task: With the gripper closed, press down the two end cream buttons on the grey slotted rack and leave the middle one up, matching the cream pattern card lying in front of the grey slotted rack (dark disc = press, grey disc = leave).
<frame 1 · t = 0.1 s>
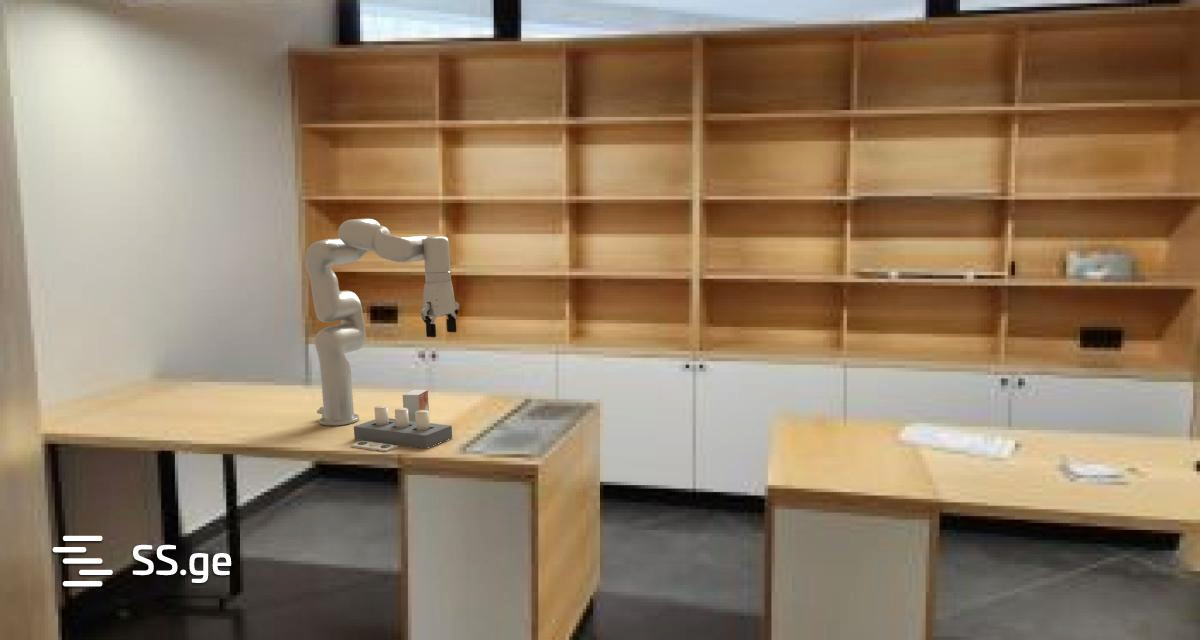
hand: (441, 334, 279), 31 cm above the table, tool pointing down, fingers open, 9 cm apart
button 3: (422, 422, 276), point 6 cm above the table, slide at 0.0 cm
button 2: (401, 420, 280), point 6 cm above the table, slide at 0.0 cm
pattern card: (374, 447, 273), on the table
button 1: (381, 417, 284), point 6 cm above the table, slide at 0.0 cm
grey slotted rack: (403, 438, 281), on the table
small box: (417, 424, 299), on the table
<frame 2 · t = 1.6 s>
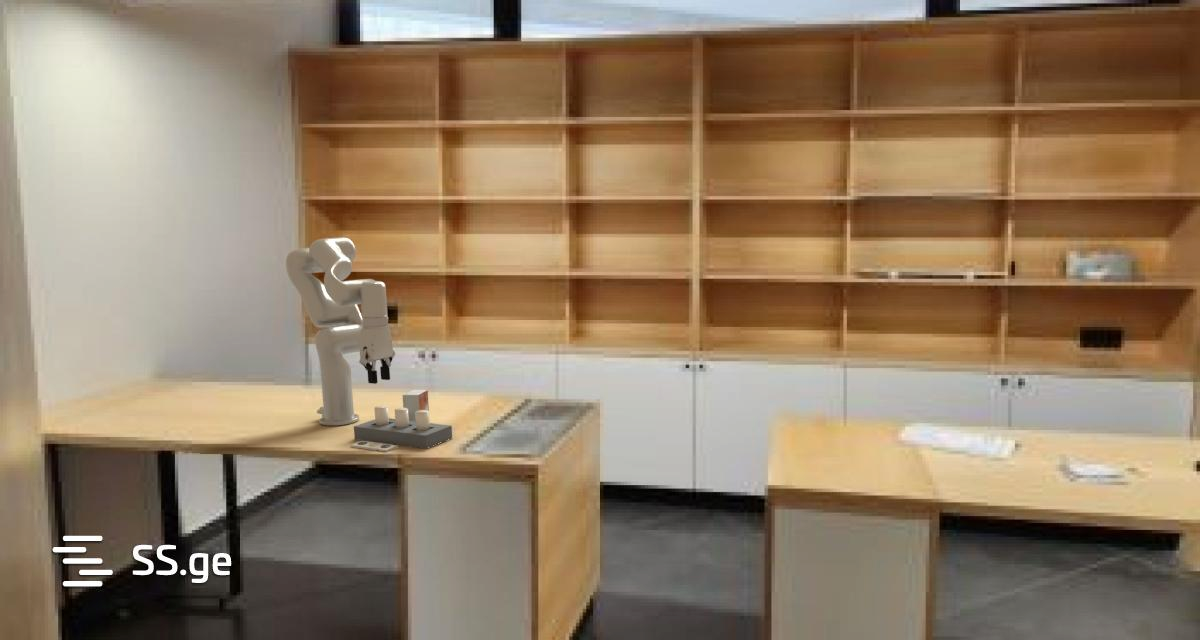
hand: (379, 380, 282), 17 cm above the table, tool pointing down, fingers open, 4 cm apart
nothing on the table moved.
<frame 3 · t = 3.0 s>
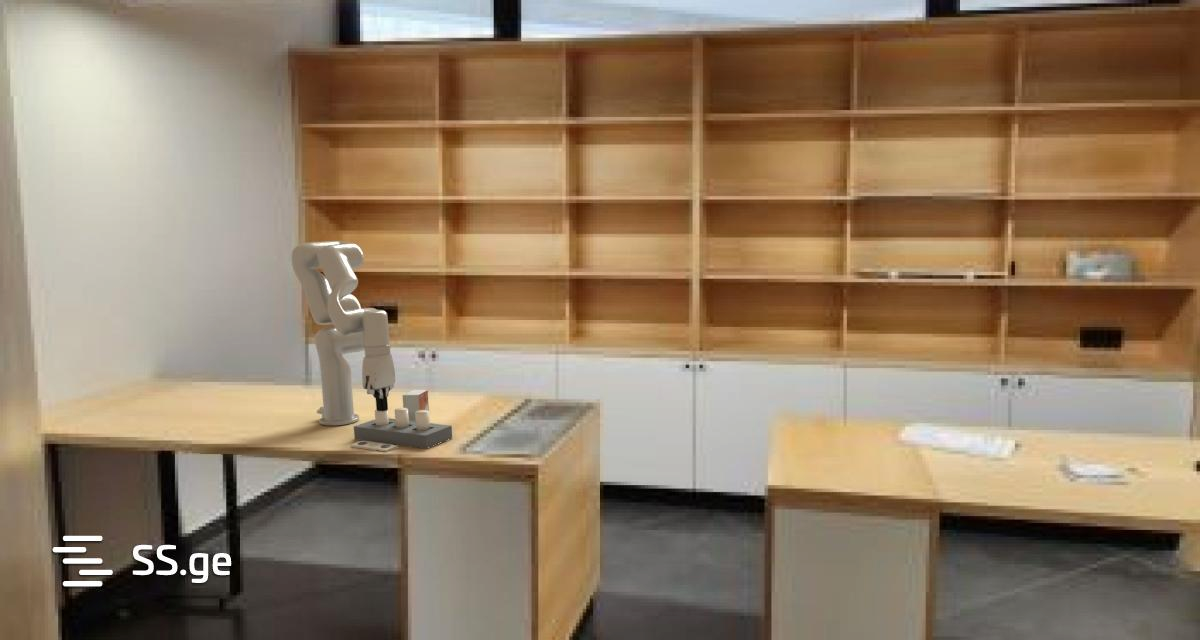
hand: (382, 410, 283), 8 cm above the table, tool pointing down, fingers closed
button 1: (382, 420, 284), point 5 cm above the table, slide at 1.0 cm, touching gripper
everything else where it was.
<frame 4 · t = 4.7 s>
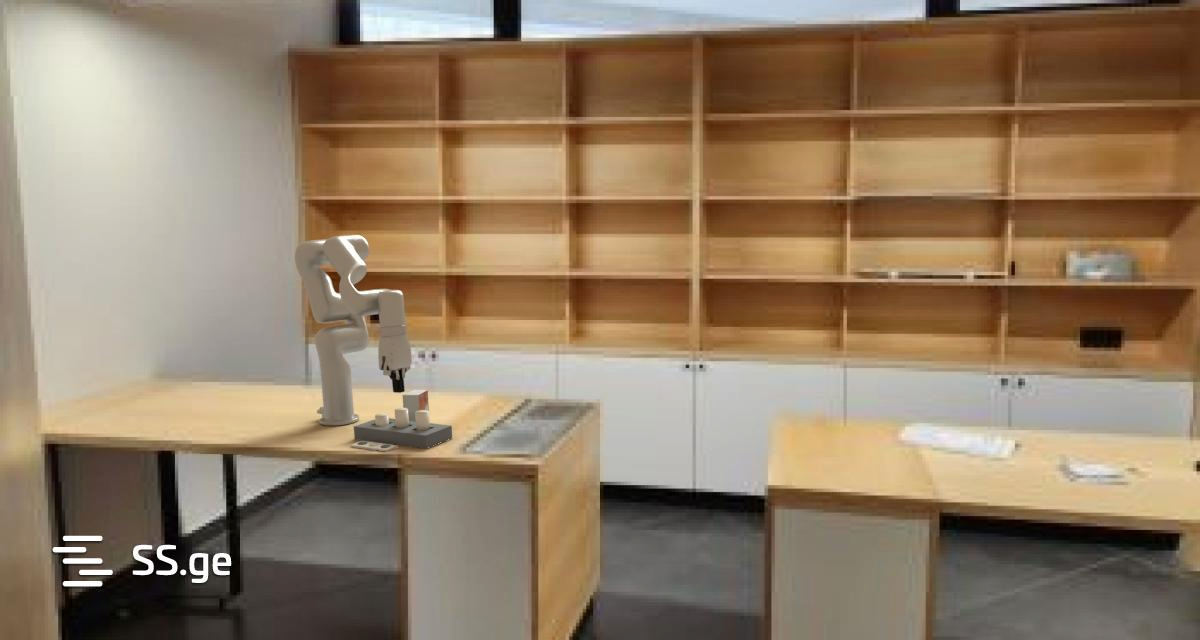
hand: (398, 391, 279), 15 cm above the table, tool pointing down, fingers closed
button 1: (382, 425, 284), point 3 cm above the table, slide at 2.4 cm
everything else where it was.
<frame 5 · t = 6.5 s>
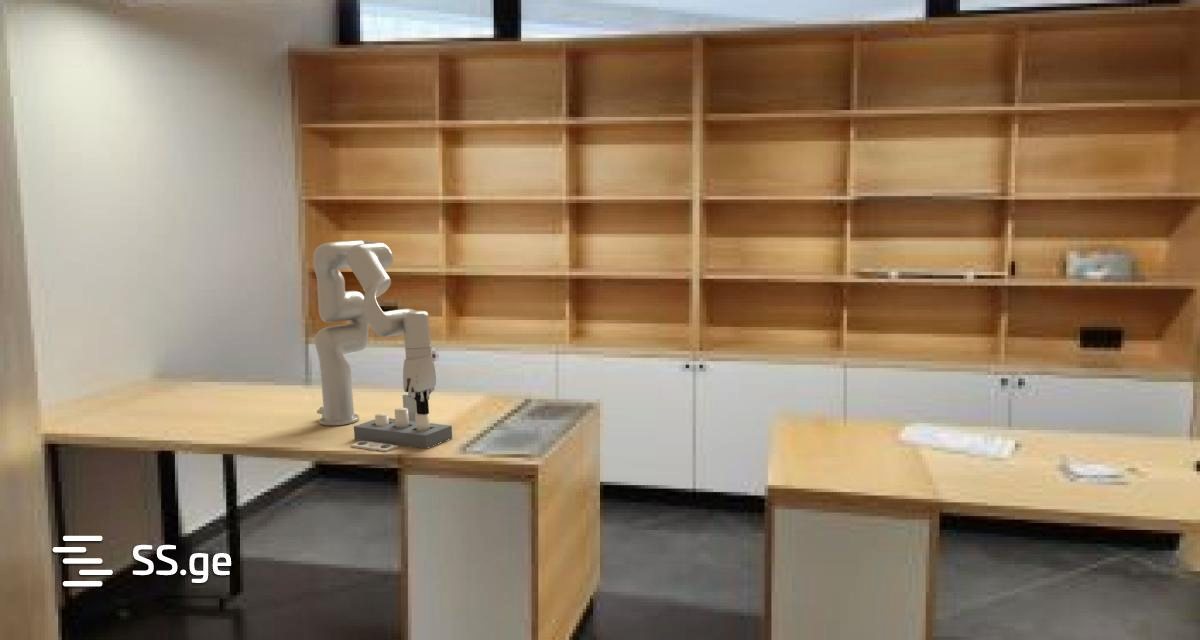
hand: (422, 413, 276), 9 cm above the table, tool pointing down, fingers closed
button 3: (422, 424, 276), point 5 cm above the table, slide at 0.6 cm, touching gripper
everything else where it was.
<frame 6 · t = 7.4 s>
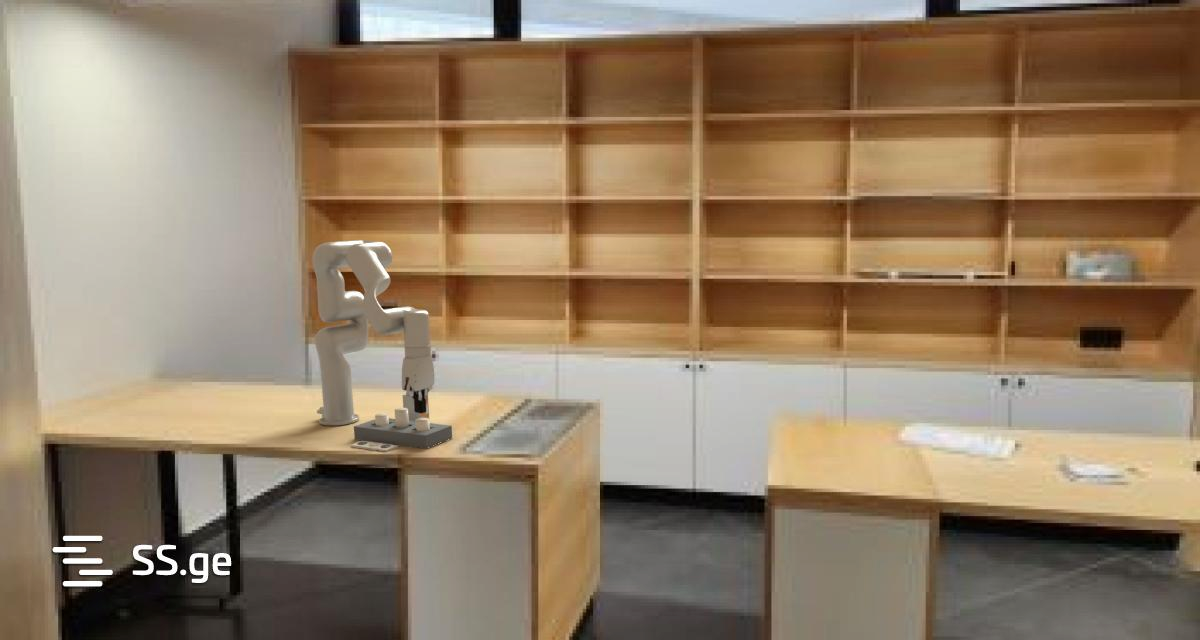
hand: (420, 412, 276), 9 cm above the table, tool pointing down, fingers closed
button 3: (423, 430, 277), point 3 cm above the table, slide at 2.4 cm
everything else where it was.
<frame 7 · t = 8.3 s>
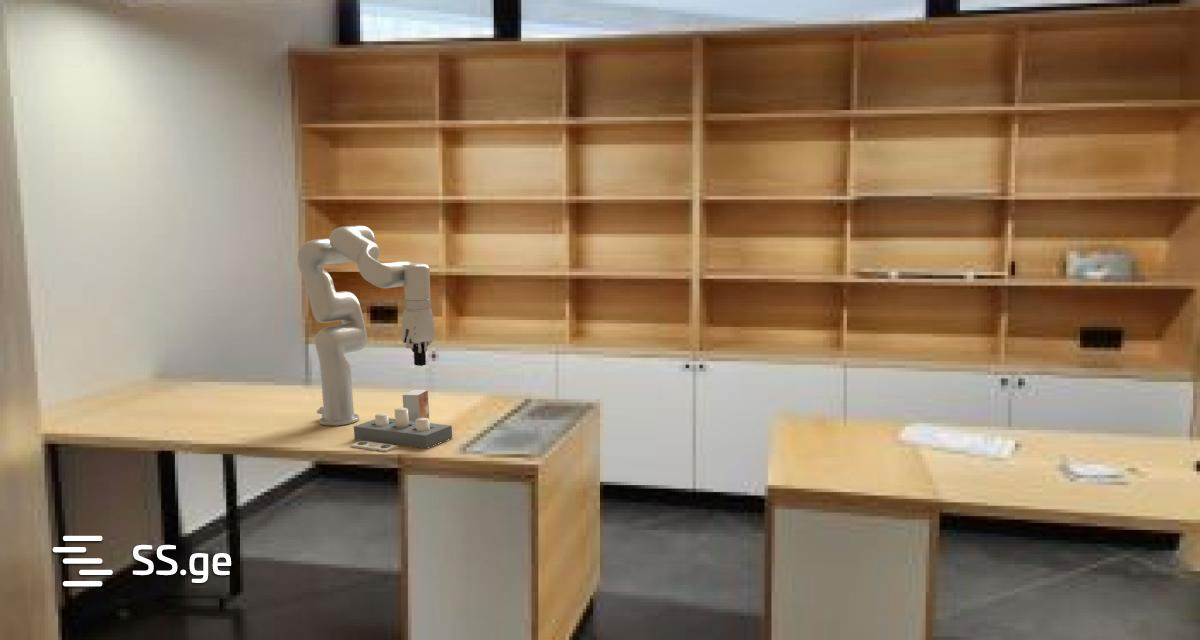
hand: (420, 364, 280), 22 cm above the table, tool pointing down, fingers closed
nothing on the table moved.
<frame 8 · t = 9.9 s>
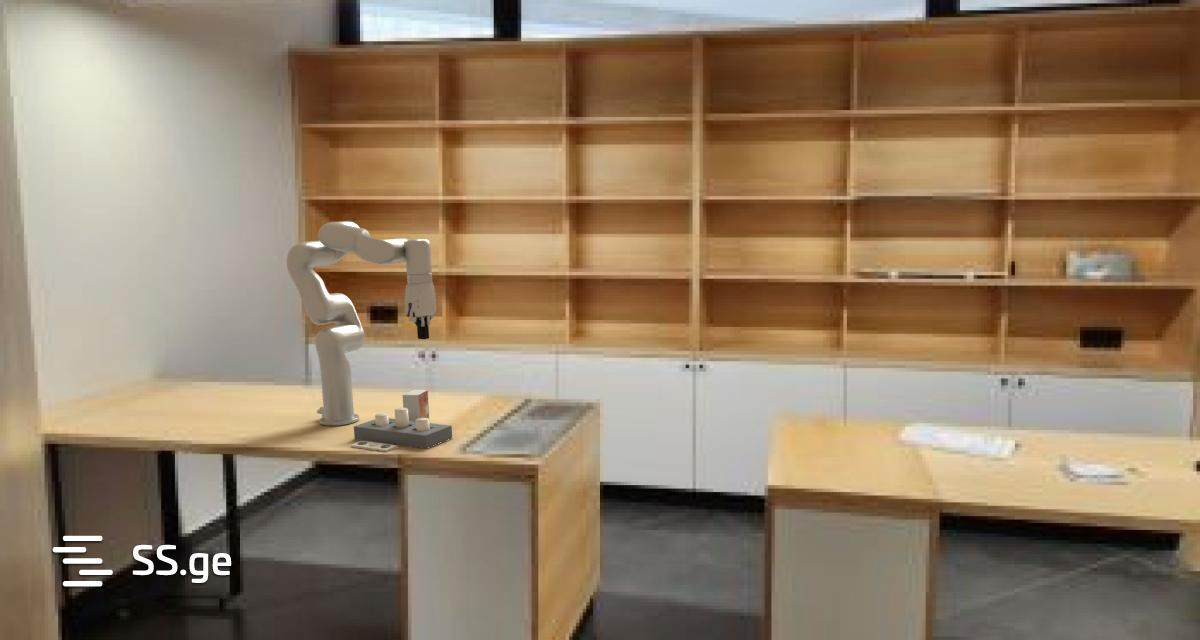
hand: (423, 338, 286), 29 cm above the table, tool pointing down, fingers closed
nothing on the table moved.
at the end: button 1 slide at 2.4 cm; button 3 slide at 2.4 cm; button 2 slide at 0.0 cm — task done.
